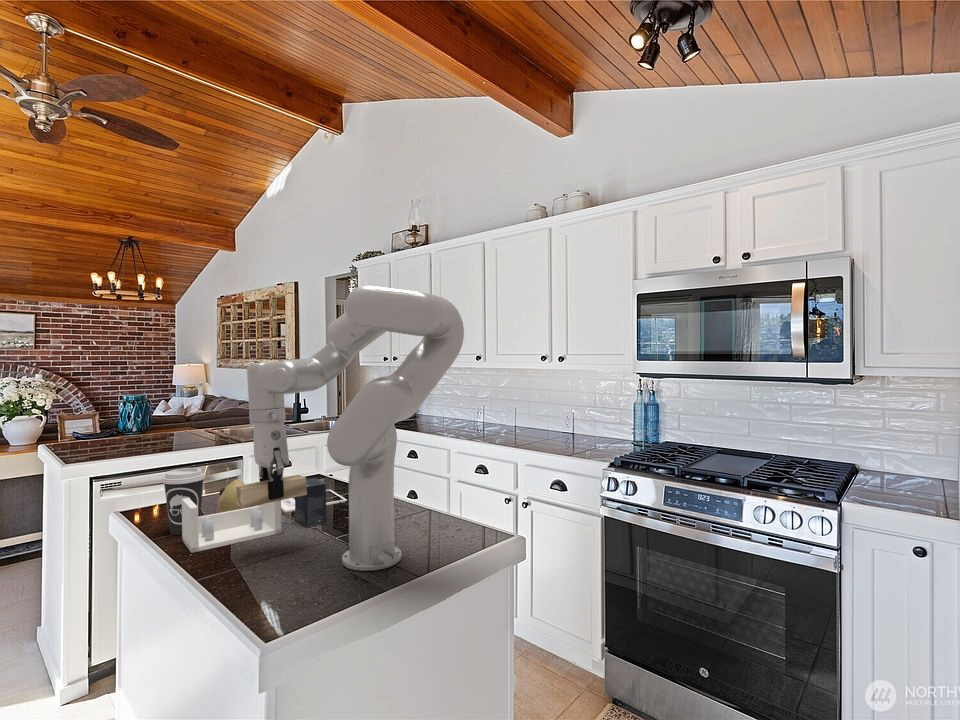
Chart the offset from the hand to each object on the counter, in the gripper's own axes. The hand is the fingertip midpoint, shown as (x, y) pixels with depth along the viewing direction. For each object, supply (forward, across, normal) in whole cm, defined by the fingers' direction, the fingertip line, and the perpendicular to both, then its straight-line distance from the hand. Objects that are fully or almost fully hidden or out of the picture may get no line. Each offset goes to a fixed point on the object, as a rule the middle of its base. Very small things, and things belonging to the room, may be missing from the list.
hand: (271, 495), depth 120 cm
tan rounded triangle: (+11, +30, 0) cm, 32 cm away
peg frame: (+12, +15, +5) cm, 20 cm away
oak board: (+1, 0, 0) cm, 1 cm away
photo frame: (+12, +34, -21) cm, 42 cm away
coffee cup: (+11, +28, +13) cm, 33 cm away
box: (+12, +14, -14) cm, 24 cm away
